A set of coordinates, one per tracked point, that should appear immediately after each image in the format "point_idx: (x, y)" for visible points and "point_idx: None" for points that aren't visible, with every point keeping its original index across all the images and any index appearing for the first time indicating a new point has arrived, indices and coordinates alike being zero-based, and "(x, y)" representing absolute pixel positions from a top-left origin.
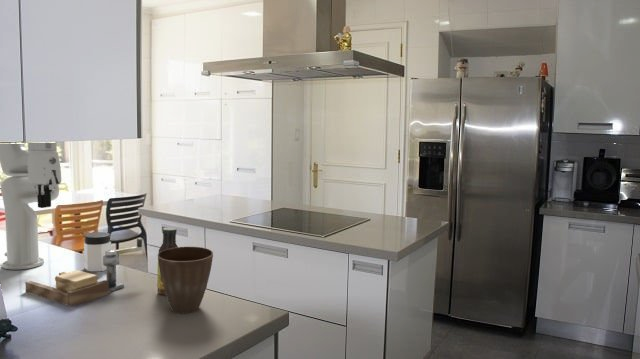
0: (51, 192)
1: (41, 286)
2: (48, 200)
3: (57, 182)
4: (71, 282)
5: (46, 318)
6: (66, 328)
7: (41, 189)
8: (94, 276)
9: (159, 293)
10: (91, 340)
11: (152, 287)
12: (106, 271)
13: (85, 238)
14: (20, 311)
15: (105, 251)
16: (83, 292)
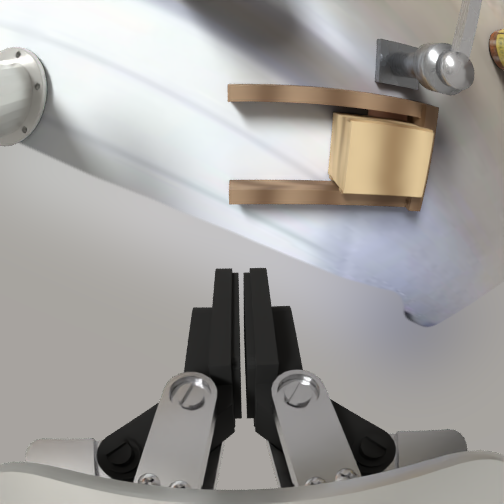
0: (325, 390)
1: (301, 201)
2: (294, 340)
3: (429, 480)
4: (408, 196)
5: (404, 254)
6: (454, 259)
7: (281, 472)
8: (431, 140)
9: (500, 68)
10: (495, 262)
11: None
12: (414, 75)
13: None
14: (336, 261)
15: (450, 82)
16: None
